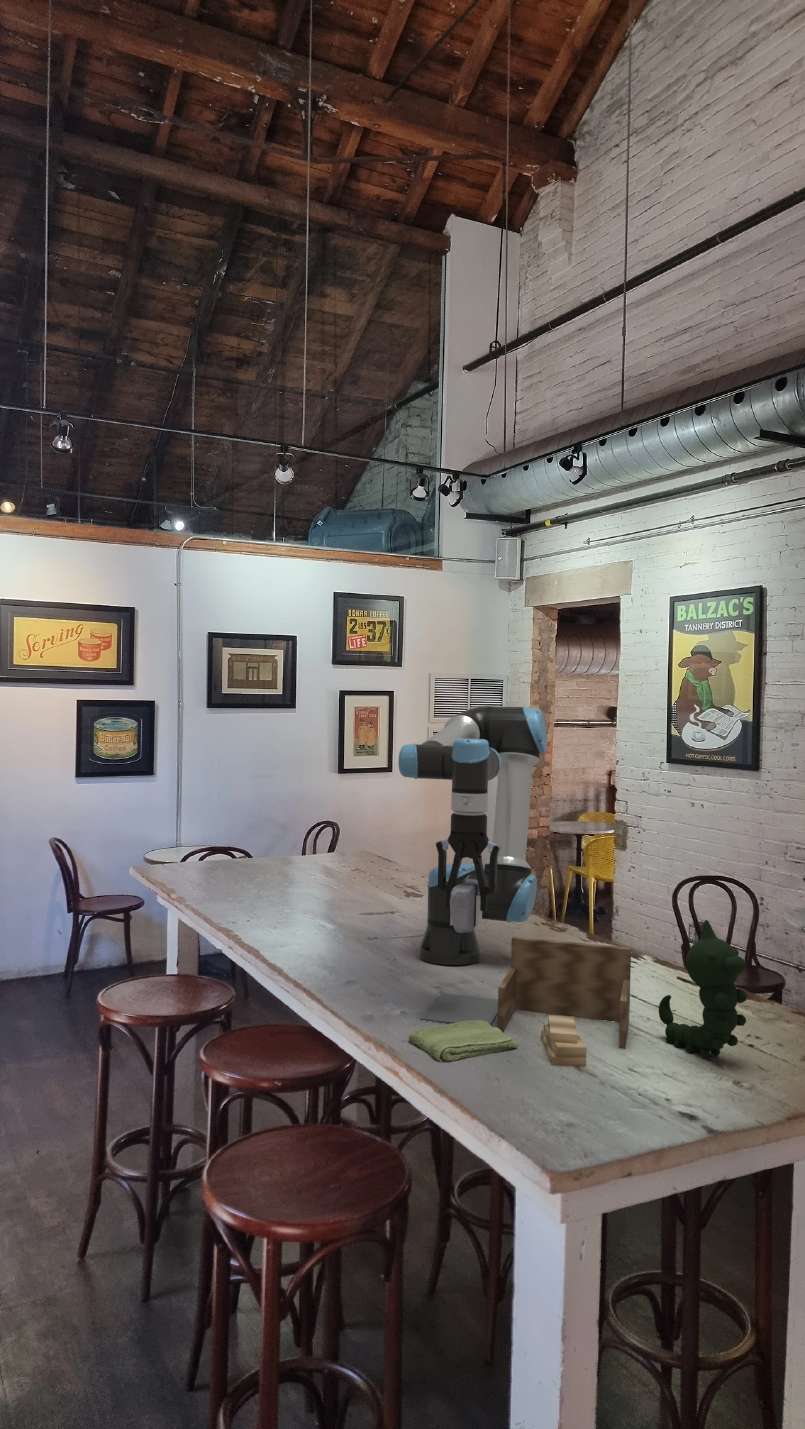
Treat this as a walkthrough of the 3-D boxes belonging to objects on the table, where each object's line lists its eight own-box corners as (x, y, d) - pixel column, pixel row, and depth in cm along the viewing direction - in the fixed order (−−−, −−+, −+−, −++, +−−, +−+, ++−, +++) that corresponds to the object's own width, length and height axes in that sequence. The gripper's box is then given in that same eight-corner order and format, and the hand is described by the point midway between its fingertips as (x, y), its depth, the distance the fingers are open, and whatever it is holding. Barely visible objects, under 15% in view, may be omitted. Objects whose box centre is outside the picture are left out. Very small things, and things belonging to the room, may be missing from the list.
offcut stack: (541, 1039, 180) (541, 1012, 180) (572, 1040, 180) (573, 1013, 180) (552, 1067, 166) (553, 1038, 166) (586, 1068, 166) (587, 1039, 166)
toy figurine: (721, 1073, 165) (725, 932, 164) (642, 1039, 181) (645, 910, 181) (756, 1064, 169) (760, 926, 169) (676, 1031, 186) (680, 906, 186)
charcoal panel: (420, 1022, 187) (420, 1018, 187) (441, 996, 205) (441, 992, 205) (488, 1030, 183) (488, 1026, 183) (504, 1003, 201) (504, 999, 201)
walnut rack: (497, 1033, 182) (499, 955, 182) (510, 1008, 198) (512, 936, 198) (625, 1048, 175) (627, 968, 175) (629, 1021, 191) (631, 947, 191)
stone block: (474, 936, 187) (466, 886, 188) (452, 938, 189) (444, 888, 189) (493, 923, 198) (485, 876, 198) (472, 924, 200) (464, 878, 200)
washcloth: (521, 1052, 174) (521, 1034, 174) (440, 1067, 165) (441, 1049, 165) (481, 1030, 185) (481, 1013, 185) (404, 1043, 176) (404, 1026, 176)
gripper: (423, 812, 193) (420, 925, 193) (508, 817, 188) (505, 932, 188) (432, 808, 200) (429, 917, 200) (514, 813, 195) (511, 924, 195)
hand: (466, 924), depth 194 cm, fingers closed on stone block, 5 cm apart
